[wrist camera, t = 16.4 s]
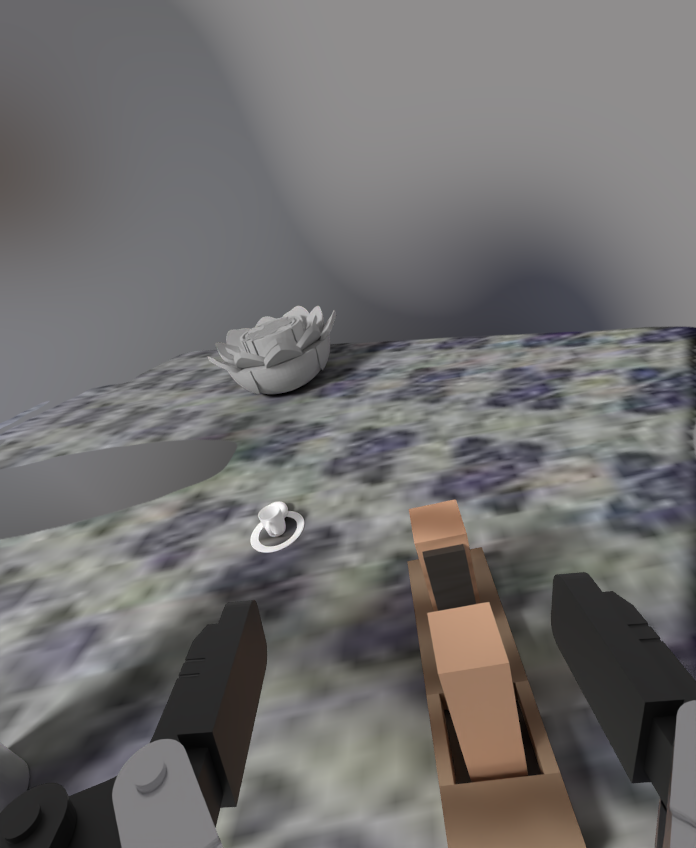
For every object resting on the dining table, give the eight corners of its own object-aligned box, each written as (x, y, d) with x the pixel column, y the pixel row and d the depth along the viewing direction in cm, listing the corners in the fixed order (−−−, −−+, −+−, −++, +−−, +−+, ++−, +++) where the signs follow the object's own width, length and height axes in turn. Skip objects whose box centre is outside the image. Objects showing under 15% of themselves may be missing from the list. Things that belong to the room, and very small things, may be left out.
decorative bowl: (288, 356, 128) (270, 307, 121) (368, 357, 109) (352, 299, 102) (208, 409, 109) (181, 355, 102) (288, 422, 90) (261, 356, 83)
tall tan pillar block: (528, 777, 31) (509, 662, 24) (472, 783, 31) (438, 674, 25) (507, 708, 35) (486, 594, 28) (458, 715, 35) (425, 605, 29)
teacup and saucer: (270, 509, 67) (261, 488, 65) (316, 510, 64) (307, 489, 62) (241, 552, 60) (230, 531, 58) (290, 557, 57) (279, 534, 55)
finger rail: (589, 870, 26) (586, 761, 20) (457, 880, 27) (412, 781, 21) (484, 563, 47) (466, 460, 41) (412, 576, 48) (382, 478, 42)
